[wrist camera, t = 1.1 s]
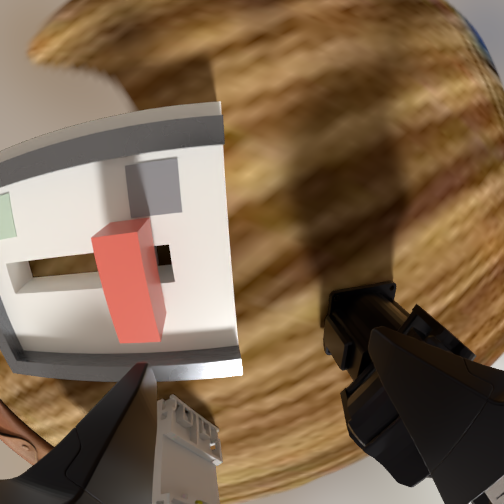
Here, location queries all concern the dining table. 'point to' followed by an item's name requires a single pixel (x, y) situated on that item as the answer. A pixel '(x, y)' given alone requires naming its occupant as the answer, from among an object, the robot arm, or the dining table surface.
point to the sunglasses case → (21, 437)
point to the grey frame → (92, 151)
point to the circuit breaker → (184, 456)
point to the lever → (131, 279)
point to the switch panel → (113, 210)
